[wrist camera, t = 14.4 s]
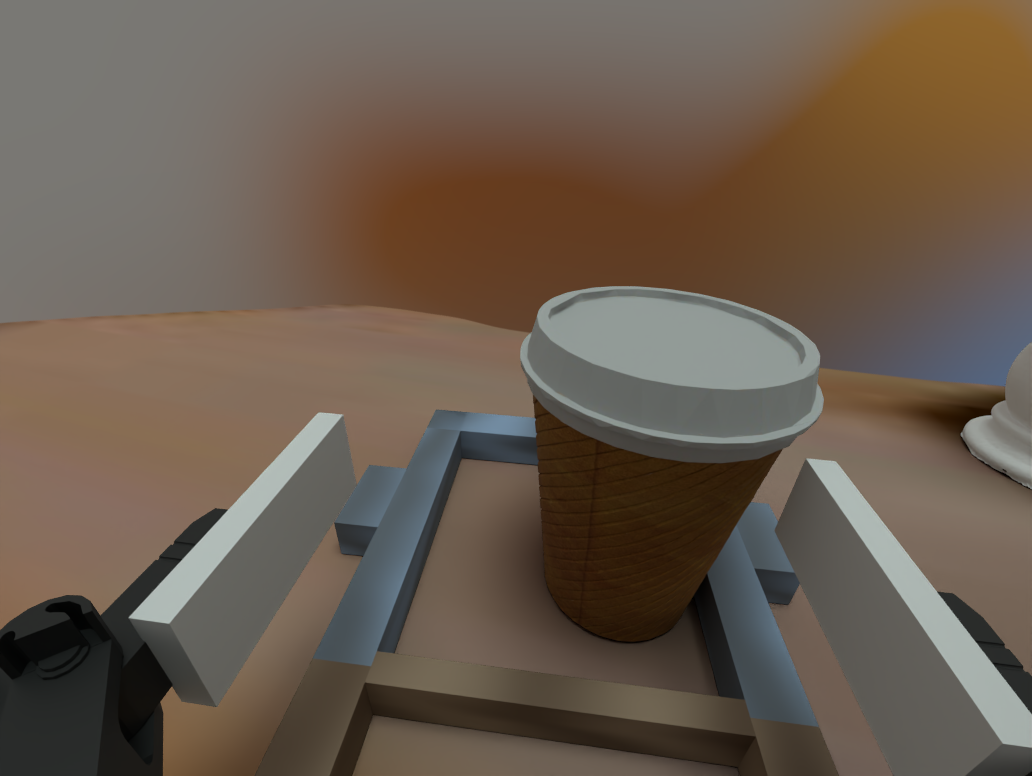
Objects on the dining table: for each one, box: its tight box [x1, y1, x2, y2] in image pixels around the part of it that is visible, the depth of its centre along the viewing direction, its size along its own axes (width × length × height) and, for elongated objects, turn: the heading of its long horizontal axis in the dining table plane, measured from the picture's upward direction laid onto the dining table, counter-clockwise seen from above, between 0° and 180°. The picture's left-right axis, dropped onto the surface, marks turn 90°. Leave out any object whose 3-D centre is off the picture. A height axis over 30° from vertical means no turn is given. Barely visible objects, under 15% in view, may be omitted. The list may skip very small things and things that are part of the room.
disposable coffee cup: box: [520, 286, 824, 642], centre depth 18 cm, size 10×10×12 cm
